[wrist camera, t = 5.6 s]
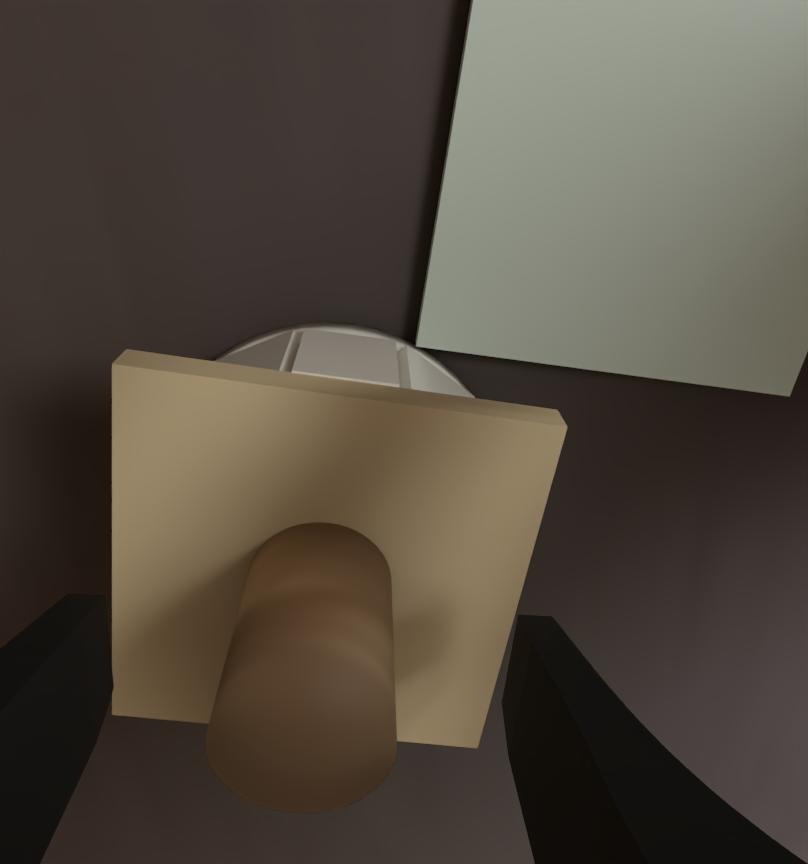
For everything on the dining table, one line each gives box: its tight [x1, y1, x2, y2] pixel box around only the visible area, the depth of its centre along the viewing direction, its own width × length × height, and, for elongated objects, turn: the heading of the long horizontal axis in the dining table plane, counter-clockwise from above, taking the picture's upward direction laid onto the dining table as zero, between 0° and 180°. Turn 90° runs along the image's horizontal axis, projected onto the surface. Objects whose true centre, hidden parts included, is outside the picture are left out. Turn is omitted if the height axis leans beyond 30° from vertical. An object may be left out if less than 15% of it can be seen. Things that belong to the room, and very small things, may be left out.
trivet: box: [415, 0, 808, 397], centre depth 15 cm, size 9×8×1 cm
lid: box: [112, 349, 567, 813], centre depth 13 cm, size 8×8×5 cm
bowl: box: [214, 322, 475, 398], centre depth 17 cm, size 8×8×4 cm
